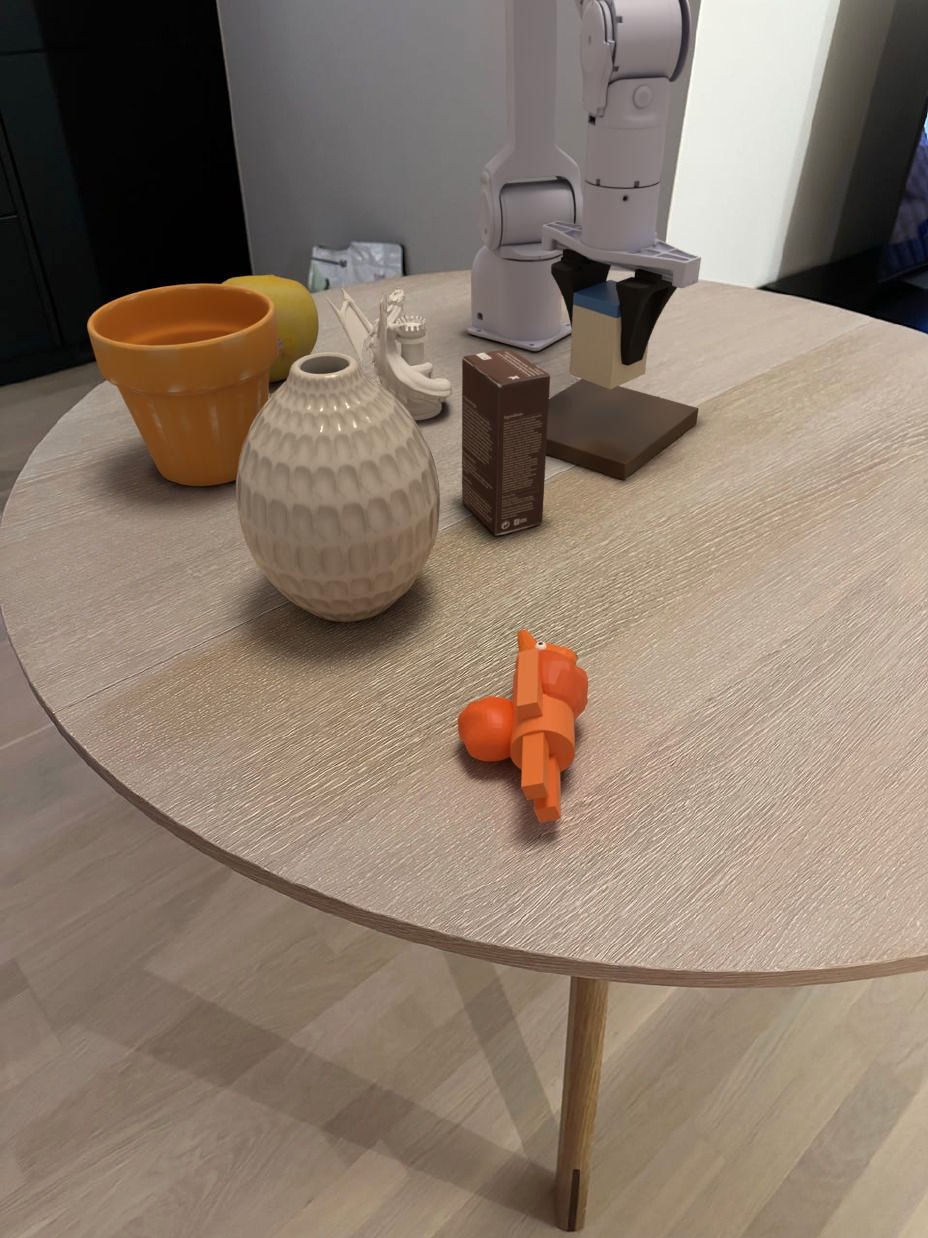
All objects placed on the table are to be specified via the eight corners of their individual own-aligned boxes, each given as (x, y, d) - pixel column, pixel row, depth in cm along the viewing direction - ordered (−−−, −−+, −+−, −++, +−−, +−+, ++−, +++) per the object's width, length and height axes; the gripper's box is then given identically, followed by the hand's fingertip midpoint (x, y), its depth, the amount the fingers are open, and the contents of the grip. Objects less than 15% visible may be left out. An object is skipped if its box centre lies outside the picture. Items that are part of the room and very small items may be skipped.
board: (505, 440, 82) (505, 425, 81) (584, 390, 90) (584, 376, 89) (623, 480, 76) (625, 464, 75) (696, 423, 84) (699, 407, 83)
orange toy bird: (580, 758, 44) (574, 605, 53) (432, 787, 46) (452, 634, 55) (607, 826, 46) (597, 669, 56) (467, 850, 48) (480, 695, 58)
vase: (369, 679, 57) (343, 431, 47) (217, 614, 63) (163, 379, 52) (478, 576, 66) (476, 347, 55) (335, 527, 71) (309, 310, 61)
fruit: (341, 377, 94) (331, 276, 87) (242, 404, 89) (224, 299, 83) (296, 346, 100) (284, 250, 94) (202, 370, 96) (182, 271, 90)
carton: (569, 374, 80) (573, 292, 76) (604, 359, 82) (610, 279, 78) (610, 389, 77) (617, 305, 73) (645, 373, 80) (653, 291, 75)
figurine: (458, 395, 90) (455, 268, 82) (445, 431, 84) (440, 298, 76) (350, 390, 91) (337, 265, 84) (329, 425, 85) (313, 293, 78)
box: (546, 523, 71) (553, 373, 64) (494, 538, 69) (495, 386, 62) (509, 488, 75) (511, 344, 68) (459, 501, 74) (456, 355, 66)
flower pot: (207, 413, 87) (178, 272, 80) (328, 446, 82) (310, 298, 74) (91, 478, 78) (45, 326, 70) (219, 520, 72) (185, 360, 64)
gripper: (734, 185, 68) (708, 363, 76) (585, 156, 77) (576, 319, 85) (675, 204, 64) (654, 388, 73) (525, 171, 73) (521, 340, 81)
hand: (608, 353), depth 79 cm, fingers closed on carton, 4 cm apart
